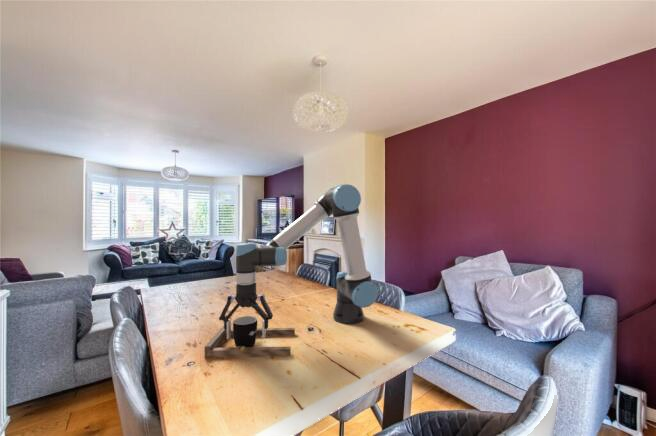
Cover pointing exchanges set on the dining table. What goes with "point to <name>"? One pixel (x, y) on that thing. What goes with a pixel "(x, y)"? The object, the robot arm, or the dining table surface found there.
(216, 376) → the dining table surface
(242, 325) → the mug
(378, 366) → the dining table surface
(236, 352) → the frame
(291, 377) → the dining table surface
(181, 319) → the dining table surface
